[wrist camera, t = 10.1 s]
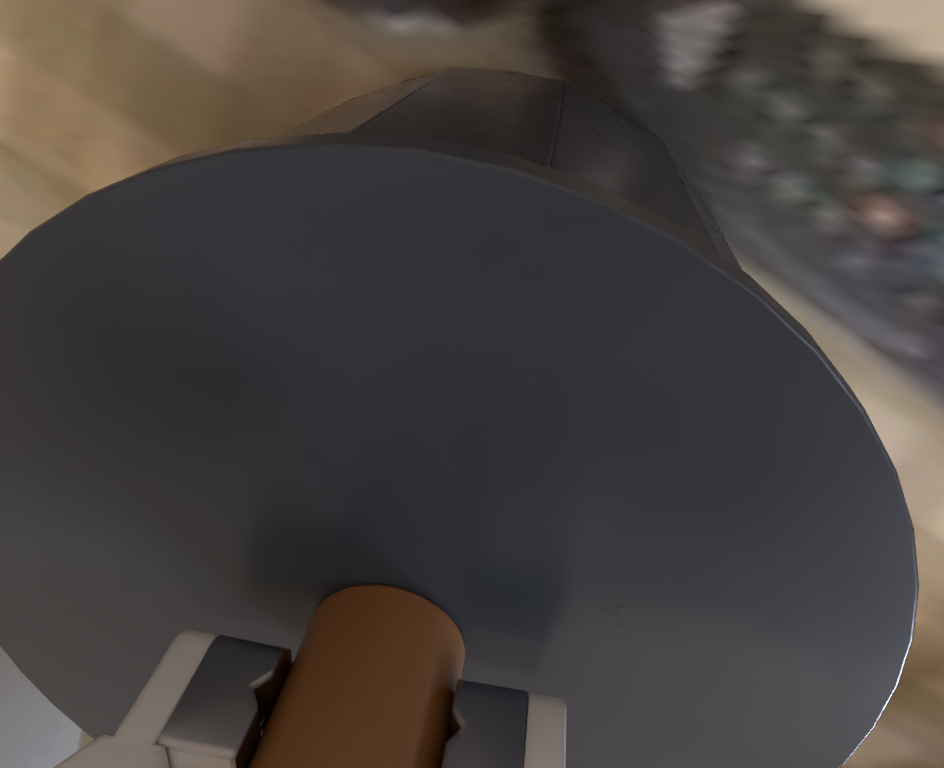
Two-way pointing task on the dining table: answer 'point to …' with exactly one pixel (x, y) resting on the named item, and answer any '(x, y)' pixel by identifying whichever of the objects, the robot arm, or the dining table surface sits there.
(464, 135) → the pot
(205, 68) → the dining table surface
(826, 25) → the dining table surface
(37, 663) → the lid
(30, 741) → the decorative bowl
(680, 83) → the dining table surface
